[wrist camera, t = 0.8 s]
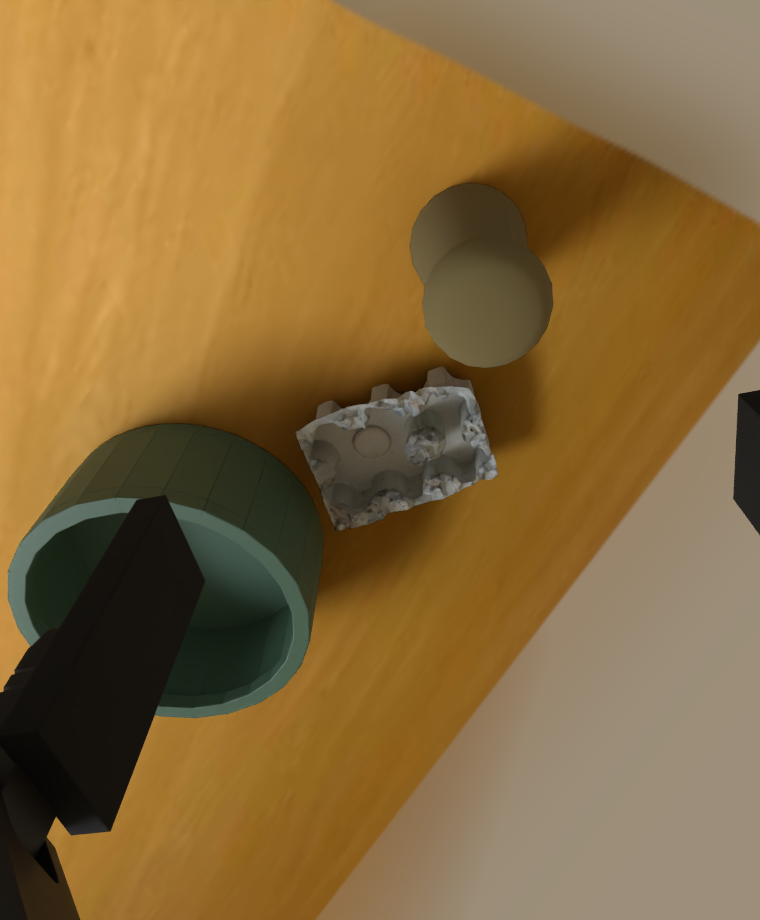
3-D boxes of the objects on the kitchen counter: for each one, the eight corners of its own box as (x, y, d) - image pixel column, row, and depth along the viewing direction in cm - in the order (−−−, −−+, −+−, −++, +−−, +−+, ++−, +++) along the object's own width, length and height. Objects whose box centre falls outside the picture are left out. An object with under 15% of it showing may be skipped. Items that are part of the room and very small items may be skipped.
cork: (453, 322, 38) (470, 416, 28) (386, 233, 35) (380, 304, 26) (548, 255, 35) (601, 332, 26) (484, 156, 33) (517, 201, 24)
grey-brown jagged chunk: (334, 498, 44) (327, 537, 41) (294, 398, 40) (283, 432, 37) (496, 463, 42) (504, 501, 39) (471, 354, 38) (477, 386, 35)
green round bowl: (19, 451, 43) (-53, 528, 36) (278, 398, 40) (253, 471, 34) (132, 641, 52) (91, 732, 45) (351, 607, 49) (342, 698, 42)
